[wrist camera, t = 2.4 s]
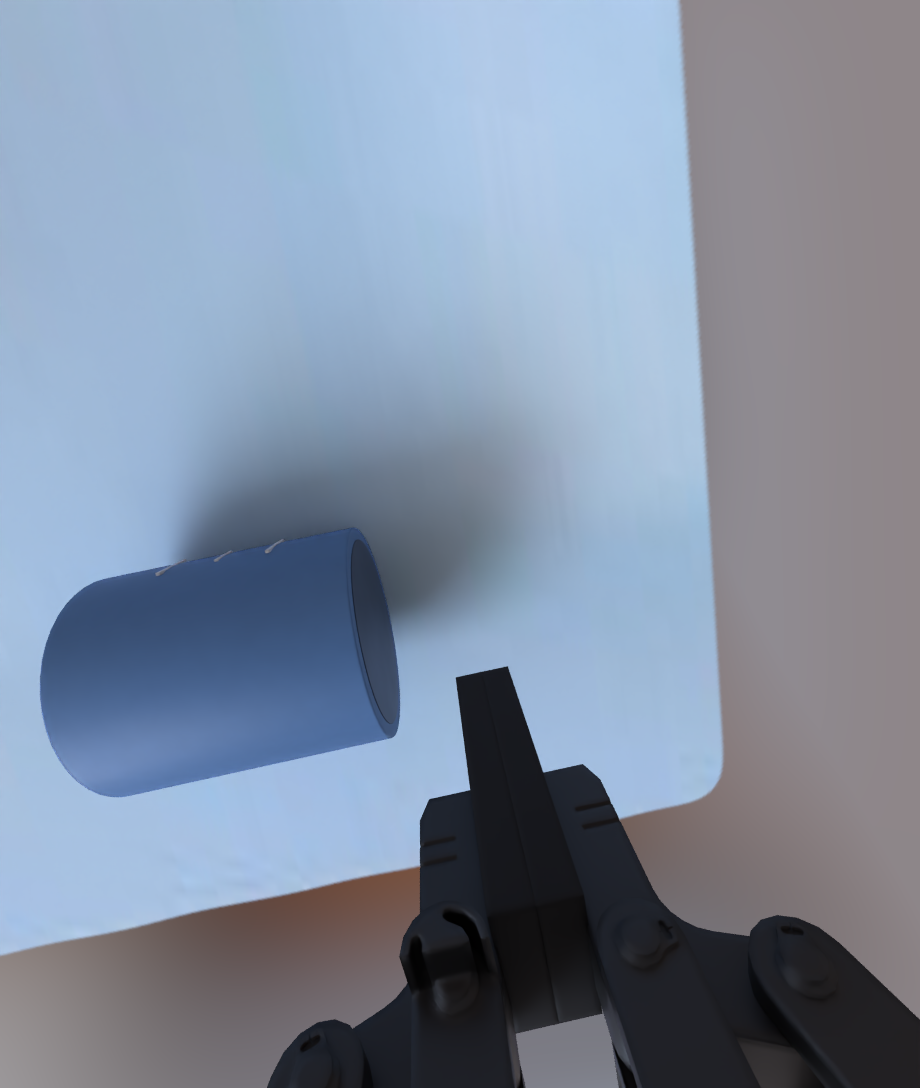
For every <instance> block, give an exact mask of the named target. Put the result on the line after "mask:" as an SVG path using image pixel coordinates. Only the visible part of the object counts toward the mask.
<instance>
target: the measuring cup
mask: <svg viewBox="0 0 920 1088" xmlns="http://www.w3.org/2000/svg"><path fill="white" fill-rule="evenodd" d="M40 700H41V709H42V715H43V720H44V724H45V728H46V732H47V734H48V737H49V740H50V743H51V745H52V747H53V749H54V751H55V753H56V755H57V757H58V759H59V761H60V762H61V763H62V765H63V766H64V767H65V769H66V770H67V772H68V773H69V774H70V775H71V776H72V777H73V778H74V779H75V780H76V781H77V782H78V783H80V784H81V785H83V786H84V787H86V788H87V789H89V790H91V791H93V792H95V793H98V794H100V795H105V796H109V797H125V796H130V795H135V794H140V793H144V792H149V791H153V790H158V789H162V788H167V787H172V786H176V785H181V784H185V783H190V782H194V781H199V780H203V779H208V778H212V777H217V776H221V775H226V774H230V773H235V772H239V771H244V770H248V769H253V768H258V767H262V766H267V765H271V764H276V763H280V762H285V761H289V760H294V759H298V758H303V757H307V756H312V755H316V754H321V753H325V752H330V751H335V750H339V749H344V748H348V747H353V746H357V745H362V744H366V743H371V742H375V741H380V740H384V739H389V738H392V737H394V736H395V734H396V732H397V729H398V725H399V717H400V689H399V676H398V666H397V658H396V650H395V644H394V638H393V632H392V626H391V621H390V616H389V611H388V607H387V602H386V598H385V594H384V590H383V586H382V583H381V579H380V576H379V572H378V569H377V566H376V563H375V560H374V558H373V555H372V552H371V550H370V548H369V545H368V543H367V541H366V539H365V538H364V536H363V534H362V533H361V532H360V531H359V530H358V529H357V528H348V529H343V530H339V531H334V532H329V533H324V534H319V535H314V536H310V537H305V538H300V539H295V540H290V541H284V539H281V540H279V541H278V542H276V543H275V544H271V545H266V546H261V547H256V548H252V549H247V550H242V551H237V552H232V551H229V552H227V553H225V554H223V555H218V556H213V557H208V558H203V559H198V560H194V561H189V562H187V561H186V559H184V560H181V561H179V562H177V563H175V564H173V565H169V566H165V567H160V568H155V569H150V570H145V571H140V572H136V573H131V574H126V575H121V576H116V577H111V578H107V579H103V580H100V581H97V582H94V583H92V584H90V585H88V586H86V587H85V588H83V589H82V590H81V591H80V592H78V593H77V594H76V595H74V597H73V598H72V599H71V600H70V601H69V602H68V603H67V604H66V605H65V607H64V608H63V610H62V611H61V612H60V614H59V615H58V617H57V619H56V621H55V623H54V625H53V627H52V629H51V631H50V634H49V637H48V640H47V642H46V646H45V650H44V654H43V659H42V665H41V674H40Z"/></svg>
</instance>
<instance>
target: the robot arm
mask: <svg viewBox="0 0 920 1088" xmlns="http://www.w3.org/2000/svg"><path fill="white" fill-rule="evenodd" d="M456 683H457V691H458V699H459V706H460V714H461V722H462V729H463V737H464V745H465V753H466V760H467V768H468V776H469V783H470V790H469V791H465V792H460V793H456V794H451V795H447V796H442V797H438V798H433V799H429V801H428V803H427V806H426V808H425V810H424V813H423V815H422V817H421V820H420V846H421V848H420V866H421V868H420V914H419V915H418V916H417V917H416V918H415V919H414V920H413V921H412V923H411V925H410V926H409V928H408V930H407V932H406V933H405V935H404V937H403V941H402V946H401V951H400V956H399V957H400V960H401V963H402V966H403V970H404V973H405V976H406V979H407V982H408V983H407V985H406V987H405V988H404V989H403V990H402V991H401V993H400V994H399V995H398V996H397V998H396V999H394V1000H393V1001H392V1002H391V1003H390V1004H388V1005H387V1006H386V1007H385V1008H383V1009H382V1010H380V1011H379V1012H377V1013H376V1014H375V1015H373V1016H372V1017H370V1018H368V1019H367V1020H365V1021H364V1022H362V1023H361V1024H359V1025H358V1026H356V1027H355V1028H353V1029H352V1028H351V1027H350V1025H348V1024H346V1023H343V1022H340V1021H338V1020H329V1021H323V1022H318V1023H316V1024H315V1025H313V1026H312V1027H310V1028H308V1029H307V1030H305V1031H304V1032H302V1033H300V1034H299V1035H298V1037H297V1038H296V1039H295V1040H294V1041H293V1042H292V1044H291V1045H290V1046H289V1047H288V1048H287V1050H285V1052H284V1053H283V1055H282V1057H281V1059H280V1061H279V1063H278V1064H277V1066H276V1068H275V1070H274V1072H273V1074H272V1076H271V1078H270V1081H269V1084H268V1086H267V1088H525V1082H524V1078H523V1074H522V1070H521V1066H520V1060H519V1054H518V1047H517V1041H516V1033H520V1032H525V1031H529V1030H533V1029H537V1028H542V1027H546V1026H550V1025H555V1024H559V1023H563V1022H567V1021H572V1020H576V1019H580V1018H585V1017H589V1016H594V1015H598V1014H602V1009H603V1013H604V1016H605V1019H606V1023H607V1026H608V1029H609V1033H610V1036H611V1039H612V1045H613V1052H614V1059H615V1064H616V1072H617V1079H618V1085H619V1088H920V1019H919V1018H917V1017H916V1016H915V1015H914V1014H913V1013H912V1012H911V1011H910V1010H909V1009H908V1008H907V1007H906V1006H905V1005H904V1004H903V1003H902V1002H901V1001H900V1000H898V998H897V997H895V996H894V995H893V994H892V993H891V992H890V991H889V990H888V989H887V988H886V987H885V986H884V985H883V984H882V983H881V982H880V981H879V980H878V979H877V978H876V977H875V976H874V975H872V974H871V973H870V972H869V971H868V970H867V969H866V968H865V967H864V966H863V965H862V964H861V963H860V962H859V961H858V960H857V959H856V958H854V956H853V955H851V954H850V953H849V952H848V951H847V950H846V949H845V948H844V947H843V946H842V945H841V944H840V943H839V942H837V941H836V940H835V939H834V938H832V937H831V936H830V935H828V934H827V933H826V932H824V931H823V930H822V929H820V928H819V927H817V926H815V925H812V924H810V923H808V922H805V921H803V920H801V919H799V918H795V917H787V916H779V915H776V916H773V917H769V918H766V919H762V920H760V922H758V924H757V925H756V926H755V927H754V928H753V929H752V930H751V932H750V936H744V935H736V934H729V933H722V932H714V931H710V930H706V929H702V928H697V927H695V926H693V925H691V924H689V923H687V922H685V921H683V920H681V919H680V918H679V917H677V916H676V915H675V914H673V913H672V912H670V911H669V909H668V908H667V907H666V906H665V905H664V904H663V903H662V902H661V901H660V900H659V898H658V896H657V895H656V893H655V892H654V890H653V888H652V886H651V884H650V882H649V880H648V878H647V876H646V874H645V872H644V870H643V868H642V865H641V863H640V861H639V859H638V857H637V855H636V853H635V851H634V849H633V847H632V845H631V843H630V840H629V838H628V836H627V834H626V832H625V830H624V828H623V826H622V824H621V822H620V821H619V818H618V815H617V813H616V811H615V809H614V807H613V805H612V804H611V802H610V799H609V797H608V795H607V793H606V791H605V788H604V786H603V784H602V782H601V780H600V779H599V778H598V777H597V776H596V775H595V774H593V773H592V772H591V771H590V770H589V769H588V768H587V767H586V766H584V765H583V764H581V765H577V766H572V767H567V768H563V769H558V770H554V771H549V772H545V773H543V771H542V768H541V765H540V762H539V759H538V756H537V753H536V750H535V747H534V744H533V741H532V738H531V735H530V732H529V729H528V726H527V723H526V720H525V717H524V714H523V711H522V708H521V705H520V702H519V699H518V696H517V693H516V690H515V687H514V684H513V681H512V678H511V675H510V672H509V669H508V666H507V667H503V668H498V669H493V670H489V671H484V672H479V673H474V674H470V675H465V676H460V677H456ZM601 1006H602V1007H601Z"/></svg>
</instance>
